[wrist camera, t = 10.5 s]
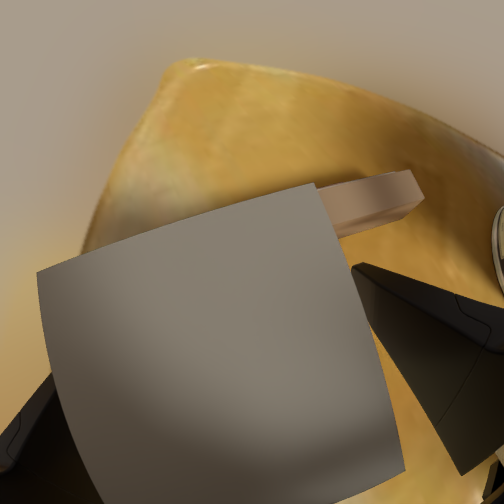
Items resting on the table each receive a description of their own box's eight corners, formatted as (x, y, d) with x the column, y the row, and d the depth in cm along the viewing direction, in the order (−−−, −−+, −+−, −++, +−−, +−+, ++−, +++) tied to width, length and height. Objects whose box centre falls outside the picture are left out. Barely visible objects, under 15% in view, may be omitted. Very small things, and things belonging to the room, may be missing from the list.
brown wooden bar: (386, 185, 18) (405, 161, 15) (402, 218, 17) (424, 198, 14) (125, 260, 17) (101, 244, 14) (132, 299, 16) (108, 291, 13)
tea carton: (303, 380, 15) (405, 470, 3) (209, 406, 14) (121, 530, 3) (272, 286, 16) (308, 172, 5) (180, 313, 16) (36, 262, 4)
